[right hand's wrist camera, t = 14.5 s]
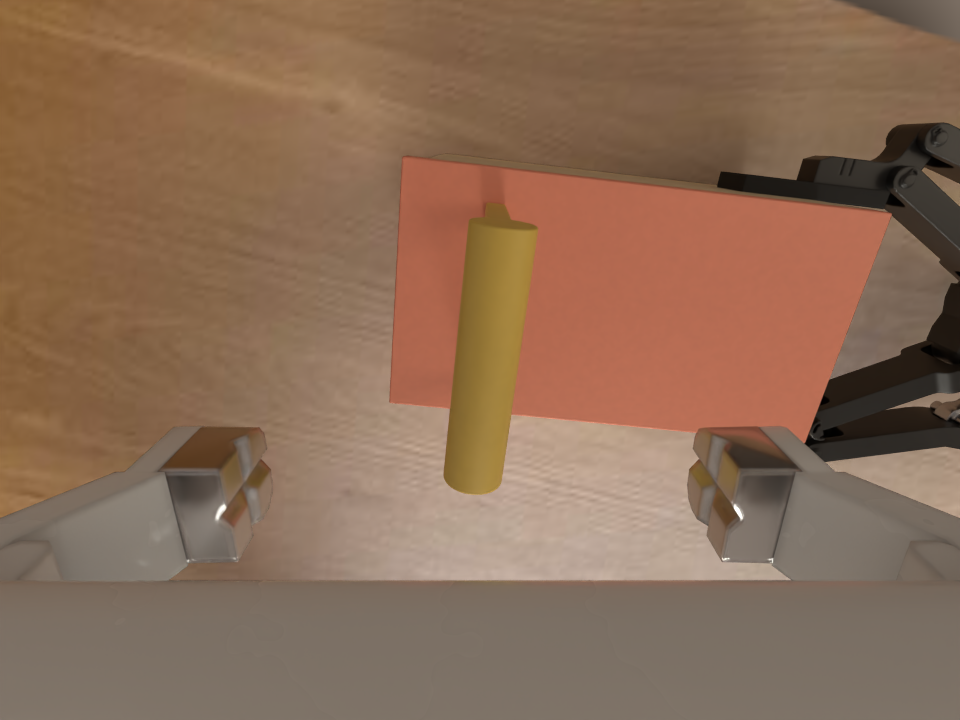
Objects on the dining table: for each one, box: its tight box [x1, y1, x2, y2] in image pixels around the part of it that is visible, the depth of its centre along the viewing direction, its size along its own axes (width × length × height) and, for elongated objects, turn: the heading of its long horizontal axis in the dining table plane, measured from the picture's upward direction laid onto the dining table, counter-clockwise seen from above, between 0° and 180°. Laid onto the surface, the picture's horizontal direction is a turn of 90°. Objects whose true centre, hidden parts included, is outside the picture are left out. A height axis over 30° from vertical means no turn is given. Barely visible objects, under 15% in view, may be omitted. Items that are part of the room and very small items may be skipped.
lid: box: [389, 156, 892, 495], centre depth 18 cm, size 18×10×8 cm, turn 84°
